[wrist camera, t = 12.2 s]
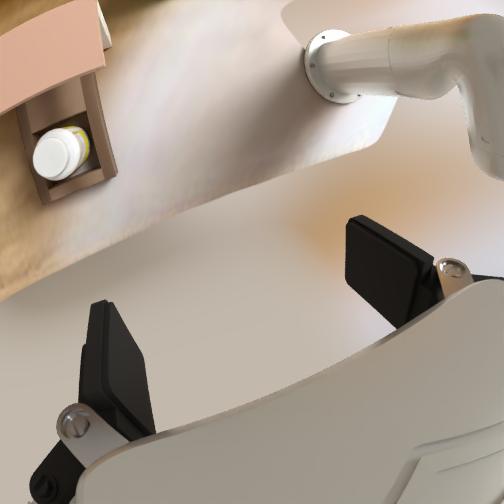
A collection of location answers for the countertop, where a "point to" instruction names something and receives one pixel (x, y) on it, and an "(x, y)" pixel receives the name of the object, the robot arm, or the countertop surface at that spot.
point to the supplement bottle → (61, 152)
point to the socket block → (56, 111)
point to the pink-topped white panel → (51, 51)
